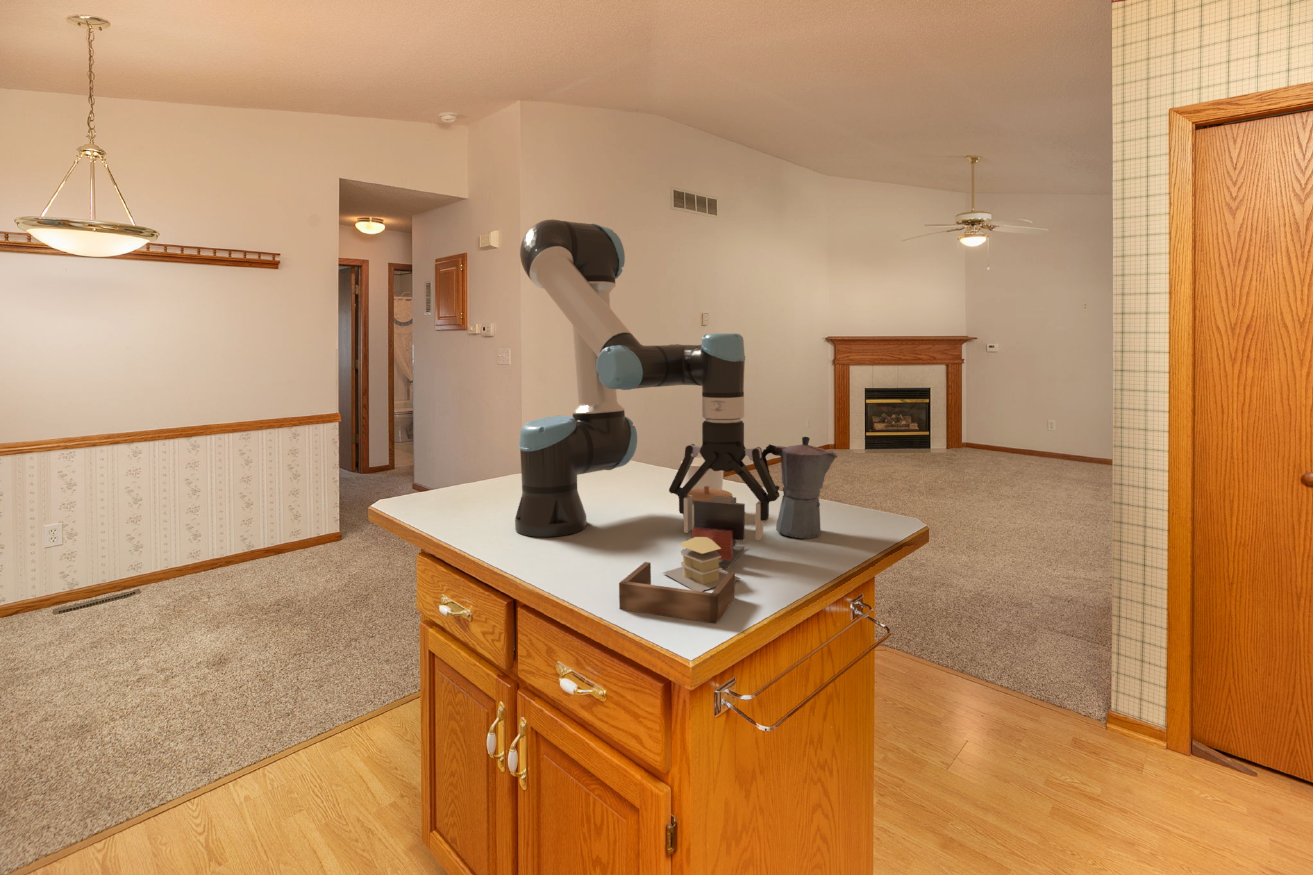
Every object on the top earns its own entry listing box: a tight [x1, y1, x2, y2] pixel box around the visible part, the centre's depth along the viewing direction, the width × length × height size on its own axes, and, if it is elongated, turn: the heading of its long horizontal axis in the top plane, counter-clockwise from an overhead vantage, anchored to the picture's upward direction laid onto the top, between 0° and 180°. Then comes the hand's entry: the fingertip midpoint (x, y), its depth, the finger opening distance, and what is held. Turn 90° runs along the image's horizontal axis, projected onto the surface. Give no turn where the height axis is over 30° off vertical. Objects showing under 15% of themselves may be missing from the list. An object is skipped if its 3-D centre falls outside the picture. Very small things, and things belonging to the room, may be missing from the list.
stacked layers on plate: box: [662, 537, 742, 592], centre depth 111 cm, size 10×9×6 cm
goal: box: [618, 561, 736, 624], centre depth 100 cm, size 15×10×4 cm, turn 68°
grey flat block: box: [719, 545, 745, 570], centre depth 122 cm, size 6×12×1 cm, turn 158°
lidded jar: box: [682, 486, 733, 530], centre depth 138 cm, size 11×11×9 cm
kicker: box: [691, 496, 746, 561], centre depth 120 cm, size 9×9×9 cm
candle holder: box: [680, 457, 724, 490], centre depth 152 cm, size 10×10×12 cm
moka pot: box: [762, 436, 838, 539], centre depth 135 cm, size 10×15×20 cm, turn 78°
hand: (723, 534), depth 123 cm, fingers open, 13 cm apart
